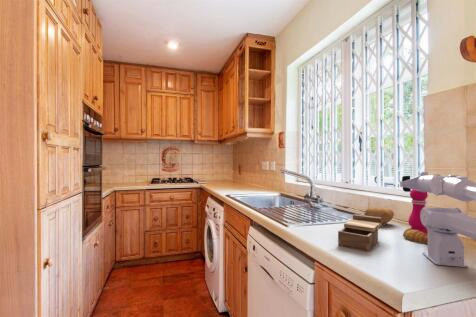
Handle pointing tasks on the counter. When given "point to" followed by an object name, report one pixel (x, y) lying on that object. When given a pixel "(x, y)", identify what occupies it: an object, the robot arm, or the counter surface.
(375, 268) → the counter surface
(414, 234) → the pastry
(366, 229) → the lid
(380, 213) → the potato
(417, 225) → the pepper mill
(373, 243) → the keepsake box
